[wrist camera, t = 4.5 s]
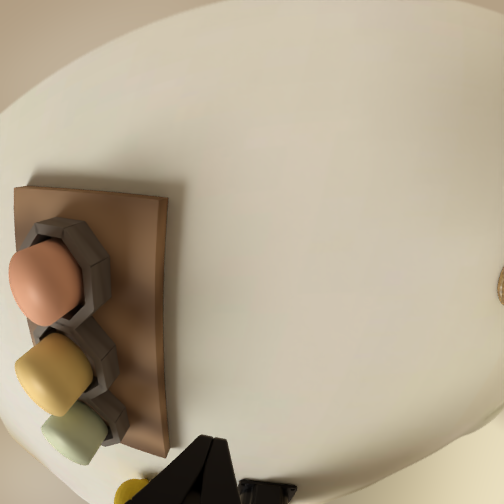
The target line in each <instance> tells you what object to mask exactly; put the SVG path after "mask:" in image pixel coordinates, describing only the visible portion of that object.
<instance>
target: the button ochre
mask: <svg viewBox="0 0 504 504" xmlns="http://www.w3.org/2000/svg"><path fill="white" fill-rule="evenodd" d="M15 371H16V375H17V378H18V380H19V382H20V384H21V385H22V387H23V389H24V390H25V392H26V393H27V394H28V395H29V397H30V398H31V399H32V400H33V401H34V402H35V403H36V404H37V405H38V406H39V407H41V408H42V409H43V410H45V411H46V412H48V413H50V414H52V415H54V416H58V417H62V416H64V415H65V414H66V413H67V411H68V410H69V409H70V408H71V407H72V405H73V404H74V403H75V402H76V400H77V399H78V398H79V397H80V396H81V394H82V393H83V392H84V391H85V390H86V389H87V387H88V386H89V385H90V384H91V382H92V380H93V371H92V367H91V365H90V362H89V360H88V359H87V357H86V355H85V354H84V353H83V351H82V350H81V349H80V348H79V347H78V346H77V345H76V344H75V343H74V342H73V341H72V340H71V339H69V338H68V337H66V336H64V335H62V334H59V333H51V334H49V335H48V336H46V337H45V338H44V339H43V340H41V341H40V342H39V343H38V344H36V345H35V346H34V347H33V348H31V349H30V350H29V351H28V352H27V353H25V354H24V355H23V356H22V357H20V358H19V359H18V360H17V361H16V363H15Z"/></svg>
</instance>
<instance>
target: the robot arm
mask: <svg viewBox="0 0 504 504" xmlns="http://www.w3.org/2000/svg"><path fill="white" fill-rule="evenodd" d="M296 491H297V486H295V485H282V484H272V483H262V482H254V481H247V480H240V481H239V484H238V487H237V482H236V478H235V474H234V469H233V465H232V461H231V456H230V452H229V447H228V442H227V440H226V439H222V438H217V437H215V438H214V439H213V437H212V436H207V435H199V436H198V437H197V438H196V439H195V440H194V441H193V442H192V443H191V444H190V445H189V446H188V447H187V448H186V449H185V450H184V451H183V452H182V453H181V454H180V455H179V456H178V457H177V458H175V459H174V460H173V461H172V462H171V463H170V464H169V465H168V466H167V467H166V468H165V469H164V470H163V471H161V472H160V473H159V474H158V475H157V476H156V477H155V478H154V479H153V480H151V481H150V482H149V483H148V484H147V485H146V486H145V487H143V488H142V489H141V490H140V491H139V492H138V493H136V494H135V495H134V496H133V497H132V500H131V499H129V500H128V501H127V502H125V503H124V504H289V502H290V500H291V499H292V497H293V496H294V494H295V492H296Z"/></svg>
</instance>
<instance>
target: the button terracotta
mask: <svg viewBox="0 0 504 504" xmlns="http://www.w3.org/2000/svg"><path fill="white" fill-rule="evenodd" d="M9 282H10V287H11V290H12V293H13V296H14V298H15V300H16V302H17V304H18V306H19V308H20V309H21V310H22V312H23V313H24V314H25V315H26V316H27V318H29V319H30V320H31V321H32V322H34V323H35V324H37V325H40V326H50V325H52V324H53V323H54V322H56V321H57V320H58V319H60V318H61V317H62V316H64V315H65V314H66V313H68V312H69V311H70V310H72V309H73V308H75V307H76V306H77V305H79V304H80V303H82V302H83V301H84V300H85V297H84V286H83V273H82V268H81V267H80V265H79V264H78V262H77V261H76V260H75V258H74V257H73V255H72V254H71V252H70V251H69V249H68V248H67V246H66V245H65V243H64V242H63V240H62V238H57V237H54V238H52V239H49V240H46V241H44V242H41V243H38V244H36V245H33V246H31V247H28V248H25V249H23V250H20V251H18V252H16V253H15V254H14V255H13V257H12V258H11V261H10V264H9Z"/></svg>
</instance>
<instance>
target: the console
mask: <svg viewBox="0 0 504 504" xmlns="http://www.w3.org/2000/svg"><path fill="white" fill-rule="evenodd" d="M167 207H168V198H166V197H157V196H148V195H138V194H128V193H117V192H106V191H95V190H82V189H68V188H53V187H37V186H23V187H16V188H14V222H15V240H16V251H17V252H18V251H20V250H23V249H25V248H28V247H31V246H33V245H36V244H38V243H41V242H44V241H46V240H49V239H52V238H54V237H57V238H62V240H63V242H64V243H65V245H66V246H67V248H68V249H69V251H70V252H71V254H72V255H73V257H74V258H75V260H76V261H77V262H78V264H79V265H80V267H81V268H82V273H83V286H84V297H85V300H84V301H83V302H82V303H80V304H79V305H77V306H76V307H75V308H73V309H72V310H70V311H69V312H68V313H66V314H65V315H64V316H62V317H61V318H60V319H58V320H57V321H56V322H54V323H53V324H52V325H50V326H40V325H37V324H35V323H34V322H32V321H31V320H30V319H29V318H27V321H28V326H29V330H30V334H31V338H32V342H33V346H35V345H36V344H38V343H39V342H40V341H41V340H43V339H44V338H45V337H46V336H48V335H49V334H51V333H59V334H62V335H64V336H66V337H68V338H69V339H71V340H72V341H73V342H74V343H75V344H76V345H77V346H78V347H79V348H80V349H81V350H82V351H83V353H84V354H85V355H86V357H87V359H88V360H89V362H90V365H91V367H92V371H93V380H92V382H91V384H90V385H89V386H88V387H87V389H86V390H85V391H84V392H83V393H82V394H81V396H80V397H79V398H78V399H77V400H79V401H81V402H83V403H84V404H86V405H87V406H89V407H90V408H92V409H93V410H94V411H95V412H96V413H97V414H98V415H99V416H100V417H101V418H102V419H103V421H104V422H105V424H106V426H107V428H108V434H107V436H106V437H105V439H104V441H103V442H102V444H101V445H102V446H105V447H106V446H110V445H114V444H117V443H122V444H124V445H127V446H130V447H132V448H135V449H138V450H141V451H144V452H147V453H150V454H153V455H156V456H159V457H163V458H166V457H167V454H168V452H169V450H170V444H169V434H168V423H167V410H166V396H165V377H164V349H163V283H164V255H165V235H166V220H167ZM26 317H27V316H26Z"/></svg>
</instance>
